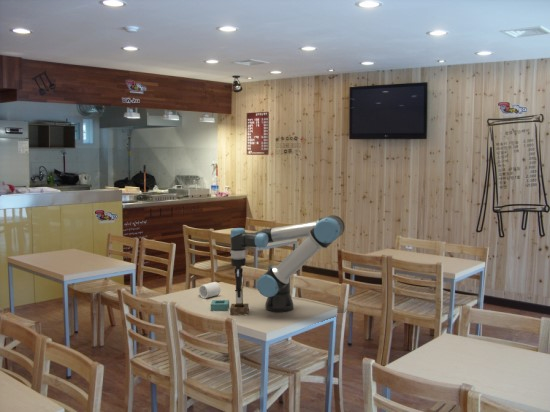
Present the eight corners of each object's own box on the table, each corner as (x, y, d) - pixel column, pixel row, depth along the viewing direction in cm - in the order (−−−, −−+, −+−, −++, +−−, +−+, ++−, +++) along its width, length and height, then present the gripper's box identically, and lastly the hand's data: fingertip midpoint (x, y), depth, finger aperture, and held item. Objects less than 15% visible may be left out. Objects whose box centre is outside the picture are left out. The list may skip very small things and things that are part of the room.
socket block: (229, 306, 315) (229, 299, 314) (227, 310, 306) (227, 304, 305) (212, 306, 315) (212, 300, 314) (210, 310, 306) (210, 304, 305)
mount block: (248, 309, 307) (248, 303, 306) (247, 314, 298) (247, 308, 297) (231, 310, 307) (231, 303, 306) (230, 314, 298) (230, 308, 297)
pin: (243, 310, 304) (242, 284, 303) (243, 312, 300) (242, 286, 299) (236, 310, 304) (235, 284, 303) (236, 312, 300) (235, 286, 299)
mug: (220, 296, 337) (220, 282, 336) (207, 299, 329) (207, 285, 329) (207, 292, 345) (207, 279, 344) (194, 296, 338) (194, 282, 337)
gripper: (232, 255, 308) (233, 298, 310) (229, 261, 291) (231, 306, 293) (246, 254, 308) (247, 297, 310) (244, 260, 291) (245, 306, 293)
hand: (239, 301), depth 302 cm, fingers closed on pin, 3 cm apart
